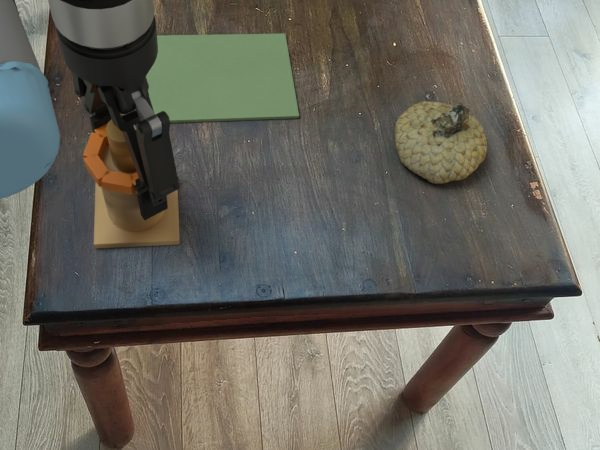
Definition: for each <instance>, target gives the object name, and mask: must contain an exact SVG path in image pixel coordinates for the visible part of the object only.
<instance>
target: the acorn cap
mask: <svg viewBox="0 0 600 450" xmlns="http://www.w3.org/2000/svg"><path fill="white" fill-rule="evenodd" d="M470 112H471V110H470V108H468V107H467V106H466V105H465V104H463V102H458V103H456V104H454V105H451V104H449V103H444V102H439V101H432V100H431V101H430V100H429V101H426V100H422V101H420V102H418V103H413V104H412V105H411V106H410V107H408V108H407V109H406V110H405V111H404V112H402V113H401V114H400V115H399V116H398V118H397V119H396V122H395V124H394V137H395V138H394V144H395V149H396V151H397V153H398V154H397V155H398V157H399V160H400V162H401V163H402V164H403V165H404V167H406V168H407V169H408V170H409V171H410V172H412V173H414V174H416V175H417V176H419V177H421V178H422V179H425V180H426V181H428V182H429V183H430V184H435V185H437V184H447V183H449V182H452V181H460V180H461V181H462V180H464V179H466V178H467V177H468V176H470V175H471V174H472V173H473V172H475V171H476V170H477V168H478V167H479V166H480V164H481V163H483V162H484V160H485V159H486V156H487V153H488V150H487V149H488V142H487V137H486V135H485V130H484V127H483V126H482V124H481V123H480V121H479V120H478V119H477V118H476V117H475V116H473V115H472V114H470Z"/></svg>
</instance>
